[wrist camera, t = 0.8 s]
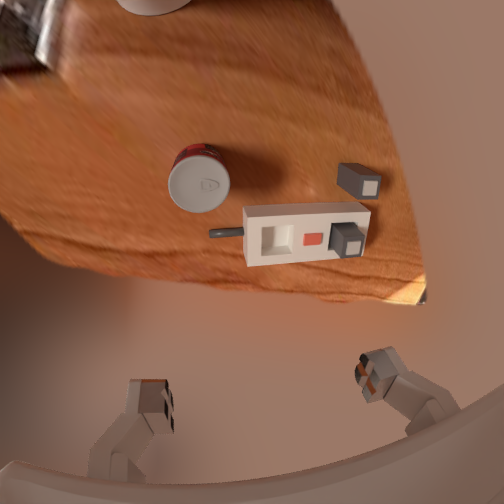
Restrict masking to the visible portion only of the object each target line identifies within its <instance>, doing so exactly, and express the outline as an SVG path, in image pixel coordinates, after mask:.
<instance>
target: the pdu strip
mask: <svg viewBox="0 0 504 504" xmlns="http://www.w3.org/2000/svg"><path fill="white" fill-rule="evenodd" d="M370 215H371V211H369V210H368V209H367V208H366V207H364V206H363V205H362V204H360V203H359V202H323V203H294V204H272V205H253V206H243V228H231V229H217V230H209V236H210V238H219V237H232V236H243V252H244V256H245V259H246V263H247V266H248V267H249V266H260V265H271V264H282V263H293V262H304V261H314V260H325V259H335V258H351V257H361V256H363V252H364V247H365V242H366V237H367V232H368V226H369V221H370Z"/></svg>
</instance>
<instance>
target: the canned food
mask: <svg viewBox="0 0 504 504" xmlns="http://www.w3.org/2000/svg"><path fill="white" fill-rule="evenodd" d="M168 188H169V193H170V196H171V198H172V199H173V201H174V202H175V203H176V204H177V205H178V206H179V207H181V208H182V209H184V210H187V211H190V212H195V213H202V212H207V211H211V210H213V209H215V208H217V207H218V206H219V205H221V204H222V202H223V201H224V200H225V199H226V197H227V195H228V193H229V189H230V177H229V174H228V170H227V168H226V165H225V163H224V160H223V158H222V156H221V154H220V153H219V152H218V150H216V149H215V148H214V147H212V146H210V145H206V144H193V145H190V146H188V147H186V148H184V149H183V150H182V151H181V152H180V153H179V154H178V156H177V158H176V160H175V162H174V165H173V167H172V170H171V173H170V176H169V180H168Z"/></svg>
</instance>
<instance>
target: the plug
mask: <svg viewBox="0 0 504 504" xmlns="http://www.w3.org/2000/svg"><path fill="white" fill-rule="evenodd" d="M380 183H381V176H380V175H379V174H377V173H375V172H373V171H371V170H370V169H368V168H366V167H364V166H362V165H360V164H358V163H339V167H338V177H337V185H339V186H340V187H341V188H343V189H344V190H345V191H347V192H348V193H349V194H351V195H352V196H353V197H355V198H356V199H378V196H379V189H380Z"/></svg>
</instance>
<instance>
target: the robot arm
mask: <svg viewBox="0 0 504 504" xmlns="http://www.w3.org/2000/svg"><path fill="white" fill-rule="evenodd" d="M117 1H118V3H119V4H120V5H121V6H122V7H123V8H125V9H126V10H128V11H130V12H132V13H135V14H139V15H160V14H165V13H168V12H171V11H174V10H176V9H178V8H180V7H182V6H184V5H186V4H187V3H188V2H190V1H191V0H117ZM359 360H360V363H359V364H358V365H357V366H356V368H355V378H356V381H357V383H358V385H360V386H361V387H363V390H362V393H363V396H364V398H365V400H366V401H367V403H371V402H374V401H378V400H381V399H383V400H384V401H385V402H387V403H388V404H389V405H391V406H392V407H393V408H395V409H396V410H398V411H399V412H400V413H401V414H403V415H404V416H405V417H407V418H408V419H409V420H411V422H410V423H409V424H408V426H407V427H406V428H405V432H406V434H407V436H408V437H405V438H403V439H401V440H398V441H396V442H393V443H391V444H388V445H385V446H383V447H380V448H377V449H375V450H372V451H369V452H366V453H363V454H360V455H357V456H354V457H351V458H348V459H345V460H341V461H337V462H334V463H330V464H327V465H323V466H319V467H315V468H311V469H307V470H302V471H297V472H293V473H288V474H283V475H277V476H271V477H265V478H259V479H251V480H242V481H233V482H222V483H207V484H146V475H145V474H144V473H143V472H142V471H141V470H140V469H139V468H138V467H137V466H136V465H135V464H136V463H137V461H138V460H139V458H140V457H141V455H142V454H143V452H144V450H145V449H146V447H147V446H148V444H149V443H150V441H151V440H152V438H153V436H154V434H174V420H173V417H172V415H171V414H172V412H173V411H174V409H173V407H174V405H173V397H172V393H171V390H170V389H169V384H168V381H167V379H130V381H129V384H128V391H127V399H126V408H125V413H121V414H120V415H119V417H118V418H117V419H116V420H115V421H114V422H113V423H112V425H111V426H110V427H109V428H108V429H107V430H106V432H105V433H104V434H103V435H102V436H101V437H100V438H99V440H98V441H97V442H96V443H95V444H94V445H93V446H92V448H91V449H90V454H89V462H88V472H87V477H84V476H78V475H73V474H68V473H63V472H59V471H55V470H50V469H46V468H42V467H38V466H35V465H32V464H28V463H25V462H22V461H16V460H15V461H12V462H11V463H9V464H8V465H6V466H5V467H4V468H3V469H2V470H1V471H0V504H504V384H502V385H500V386H499V387H497V388H496V389H494V390H493V391H491V392H490V393H488V394H487V395H485V396H483V397H482V398H480V399H479V400H477V401H475V402H474V403H472V404H470V405H469V406H467V407H465V408H464V409H462V410H461V409H460V408H459V406H458V404H457V403H456V401H455V400H454V398H453V397H452V395H451V394H450V392H449V391H448V390H446V389H444V388H443V387H440V386H439V385H437V384H435V383H433V382H431V381H430V380H428V379H426V378H424V377H422V376H420V375H419V374H417V373H415V372H413V371H409V370H408V369H407V367H406V366H405V364H404V363H403V362H402V360H401V358H400V357H399V355H398V354H397V352H396V350H395V349H394V348H393V347H392V346H390V347H387V348H383V349H378V350H374V351H370V352H367V353H363V354H361V356H360V358H359Z"/></svg>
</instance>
